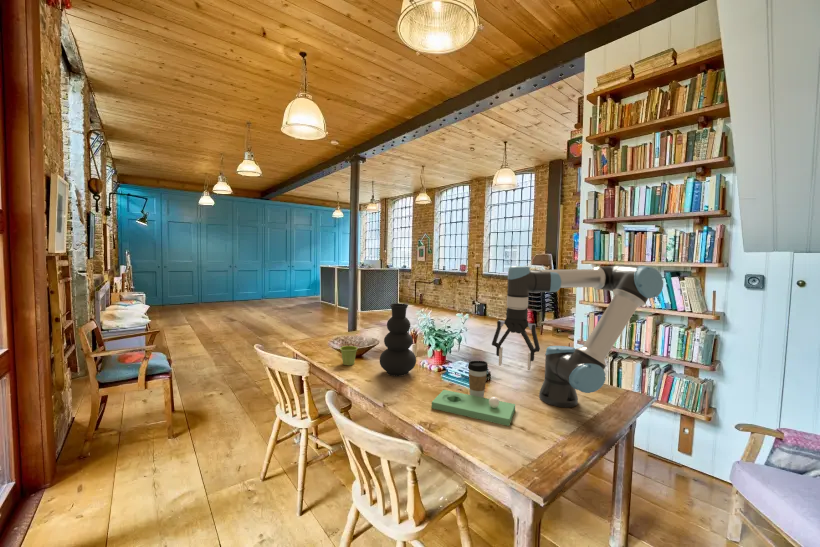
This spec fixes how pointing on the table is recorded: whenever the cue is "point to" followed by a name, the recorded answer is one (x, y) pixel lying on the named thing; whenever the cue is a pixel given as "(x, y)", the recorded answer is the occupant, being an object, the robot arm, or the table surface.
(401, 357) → the vase
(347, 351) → the plant pot
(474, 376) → the coffee cup
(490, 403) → the ball
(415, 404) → the table surface
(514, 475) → the table surface
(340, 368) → the table surface
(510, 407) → the block
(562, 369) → the robot arm
